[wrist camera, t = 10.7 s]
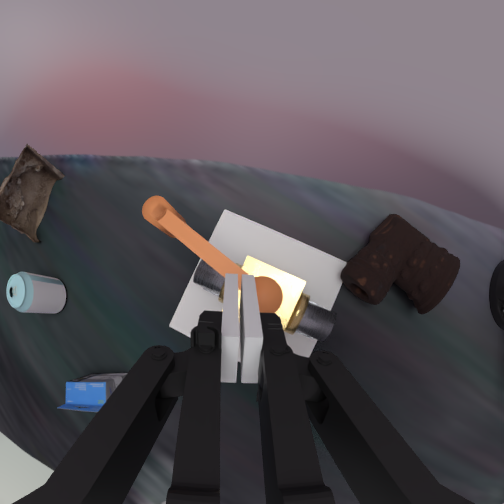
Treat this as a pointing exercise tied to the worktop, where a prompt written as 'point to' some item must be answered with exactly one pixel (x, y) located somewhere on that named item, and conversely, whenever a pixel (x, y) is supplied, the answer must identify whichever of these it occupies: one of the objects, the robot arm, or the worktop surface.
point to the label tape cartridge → (91, 391)
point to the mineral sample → (27, 192)
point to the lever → (208, 251)
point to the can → (35, 293)
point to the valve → (293, 304)
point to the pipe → (401, 266)
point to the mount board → (274, 254)
